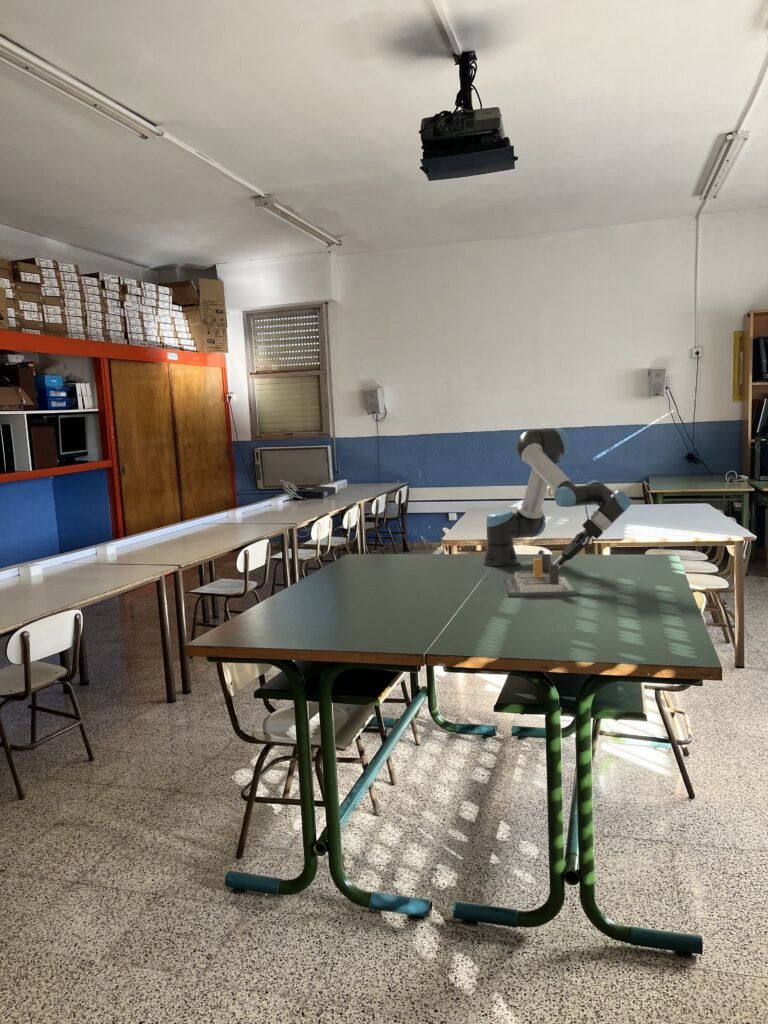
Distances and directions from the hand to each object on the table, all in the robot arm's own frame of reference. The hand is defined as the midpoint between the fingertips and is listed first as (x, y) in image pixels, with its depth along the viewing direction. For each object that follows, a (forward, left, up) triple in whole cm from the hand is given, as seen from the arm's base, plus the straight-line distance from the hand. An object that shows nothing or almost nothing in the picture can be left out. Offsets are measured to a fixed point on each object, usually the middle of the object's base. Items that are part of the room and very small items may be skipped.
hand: (552, 569), depth 284 cm
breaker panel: (0, -5, -7) cm, 9 cm away
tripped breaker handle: (0, -5, -3) cm, 6 cm away
